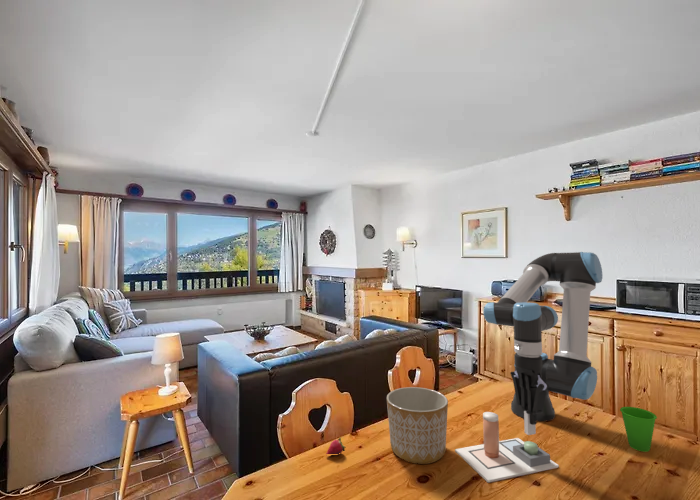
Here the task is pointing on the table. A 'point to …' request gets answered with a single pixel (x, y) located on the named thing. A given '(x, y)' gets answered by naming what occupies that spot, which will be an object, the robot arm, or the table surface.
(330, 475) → the table surface
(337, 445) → the fruit
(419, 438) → the planter
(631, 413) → the cup
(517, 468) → the sheet
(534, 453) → the button
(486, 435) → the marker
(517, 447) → the button housing
